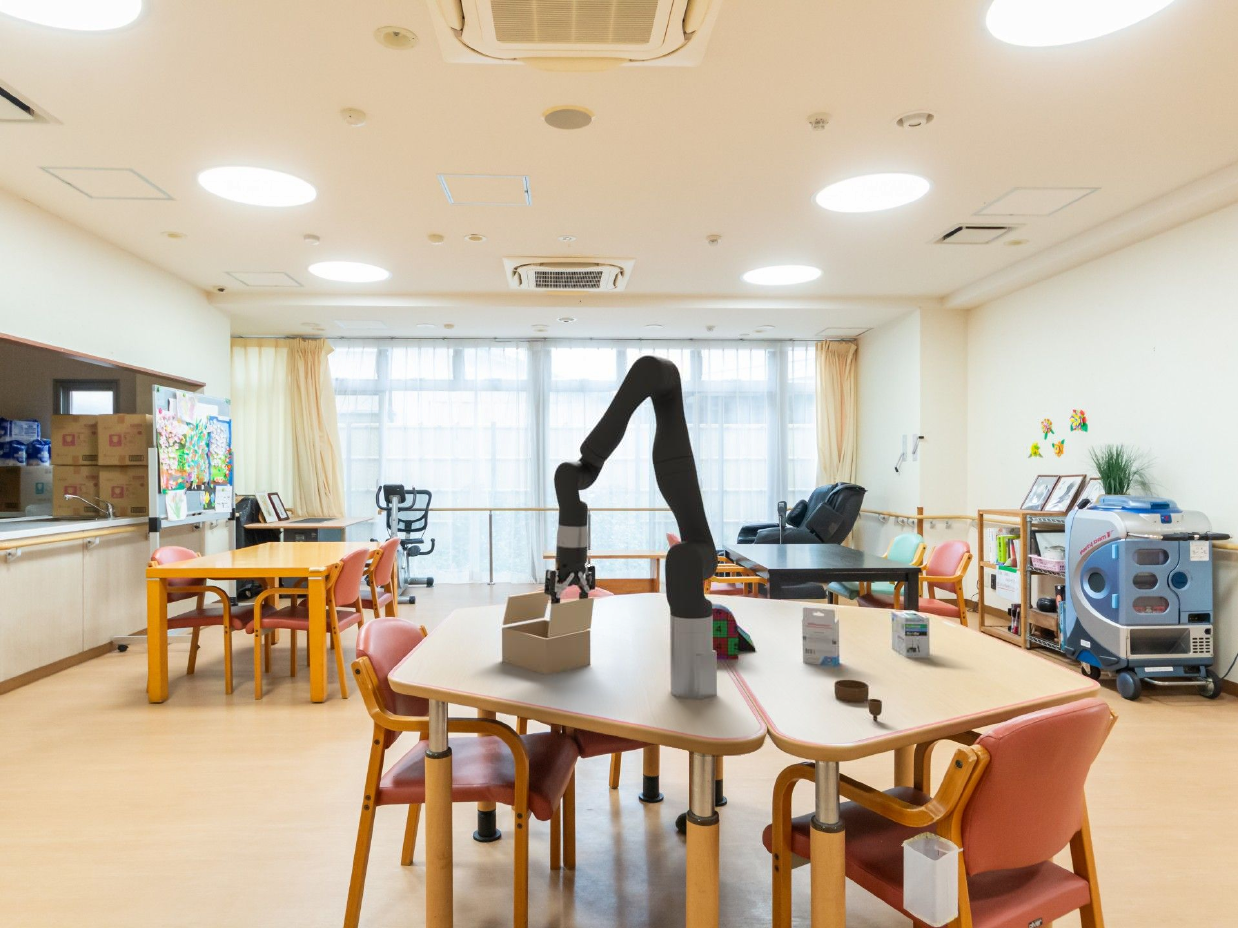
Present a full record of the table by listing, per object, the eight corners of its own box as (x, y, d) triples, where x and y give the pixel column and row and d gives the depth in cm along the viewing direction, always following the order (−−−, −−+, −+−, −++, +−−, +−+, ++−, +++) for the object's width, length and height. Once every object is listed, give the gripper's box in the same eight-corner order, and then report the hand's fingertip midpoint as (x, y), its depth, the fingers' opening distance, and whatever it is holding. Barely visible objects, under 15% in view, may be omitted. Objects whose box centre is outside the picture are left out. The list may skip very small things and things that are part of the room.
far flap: (550, 590, 194) (549, 589, 194) (509, 596, 185) (508, 595, 185) (544, 617, 196) (543, 616, 196) (503, 625, 187) (502, 624, 187)
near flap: (589, 627, 183) (590, 628, 183) (547, 636, 174) (548, 637, 174) (592, 596, 182) (594, 597, 182) (551, 603, 173) (552, 604, 173)
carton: (590, 669, 183) (590, 629, 183) (546, 681, 174) (546, 639, 174) (545, 656, 196) (545, 619, 196) (502, 666, 187) (501, 627, 187)
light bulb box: (930, 658, 193) (930, 617, 193) (904, 658, 193) (904, 617, 193) (915, 648, 204) (914, 609, 204) (890, 648, 204) (890, 609, 204)
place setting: (900, 705, 157) (900, 677, 157) (884, 735, 140) (884, 704, 140) (818, 693, 166) (818, 667, 166) (793, 720, 148) (793, 690, 148)
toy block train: (759, 663, 190) (759, 608, 190) (693, 662, 191) (693, 607, 191) (749, 640, 215) (749, 591, 215) (691, 639, 216) (691, 591, 216)
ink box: (840, 664, 188) (839, 606, 188) (836, 669, 183) (836, 609, 183) (806, 660, 192) (806, 603, 192) (802, 664, 187) (801, 606, 187)
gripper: (559, 548, 170) (556, 617, 171) (604, 543, 180) (601, 609, 181) (539, 543, 176) (536, 610, 176) (583, 539, 185) (581, 603, 186)
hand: (569, 609), depth 178 cm, fingers open, 8 cm apart
